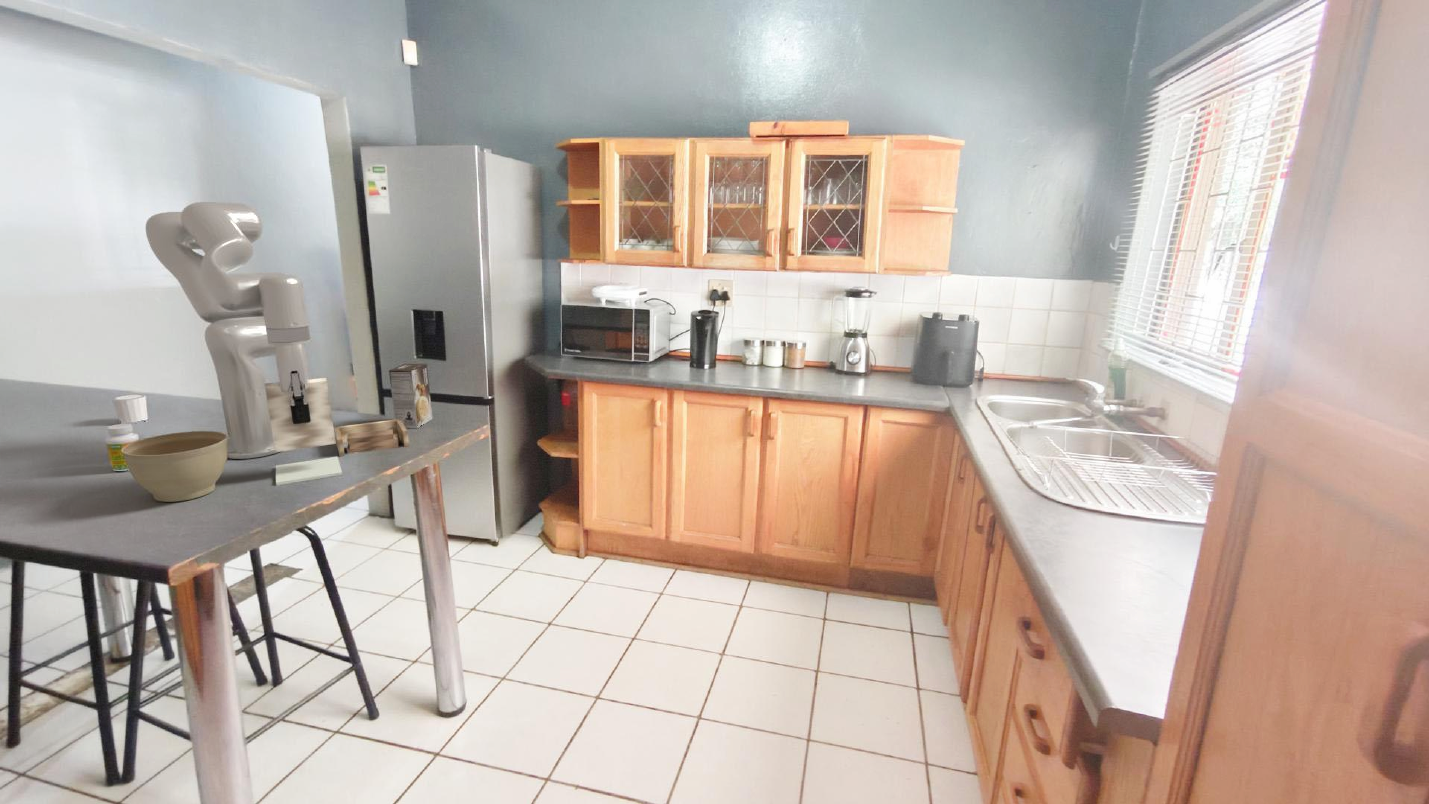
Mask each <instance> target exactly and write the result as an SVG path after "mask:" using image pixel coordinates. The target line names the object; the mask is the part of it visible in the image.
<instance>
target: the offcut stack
mask: <svg viewBox="0 0 1429 804" xmlns="http://www.w3.org/2000/svg"><path fill="white" fill-rule="evenodd" d="M399 448H400V447H399V436H398V435H397V434H393V429H391V430H382V431H372V432H363V433H353V434H348V436H347V449H346V452H347V454H355V452H358V453H365V452H373V451H372V450H375V451H379V450H378V449H384V450H390V449H391V450H392V449H399ZM376 449H377V450H376Z"/></svg>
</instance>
